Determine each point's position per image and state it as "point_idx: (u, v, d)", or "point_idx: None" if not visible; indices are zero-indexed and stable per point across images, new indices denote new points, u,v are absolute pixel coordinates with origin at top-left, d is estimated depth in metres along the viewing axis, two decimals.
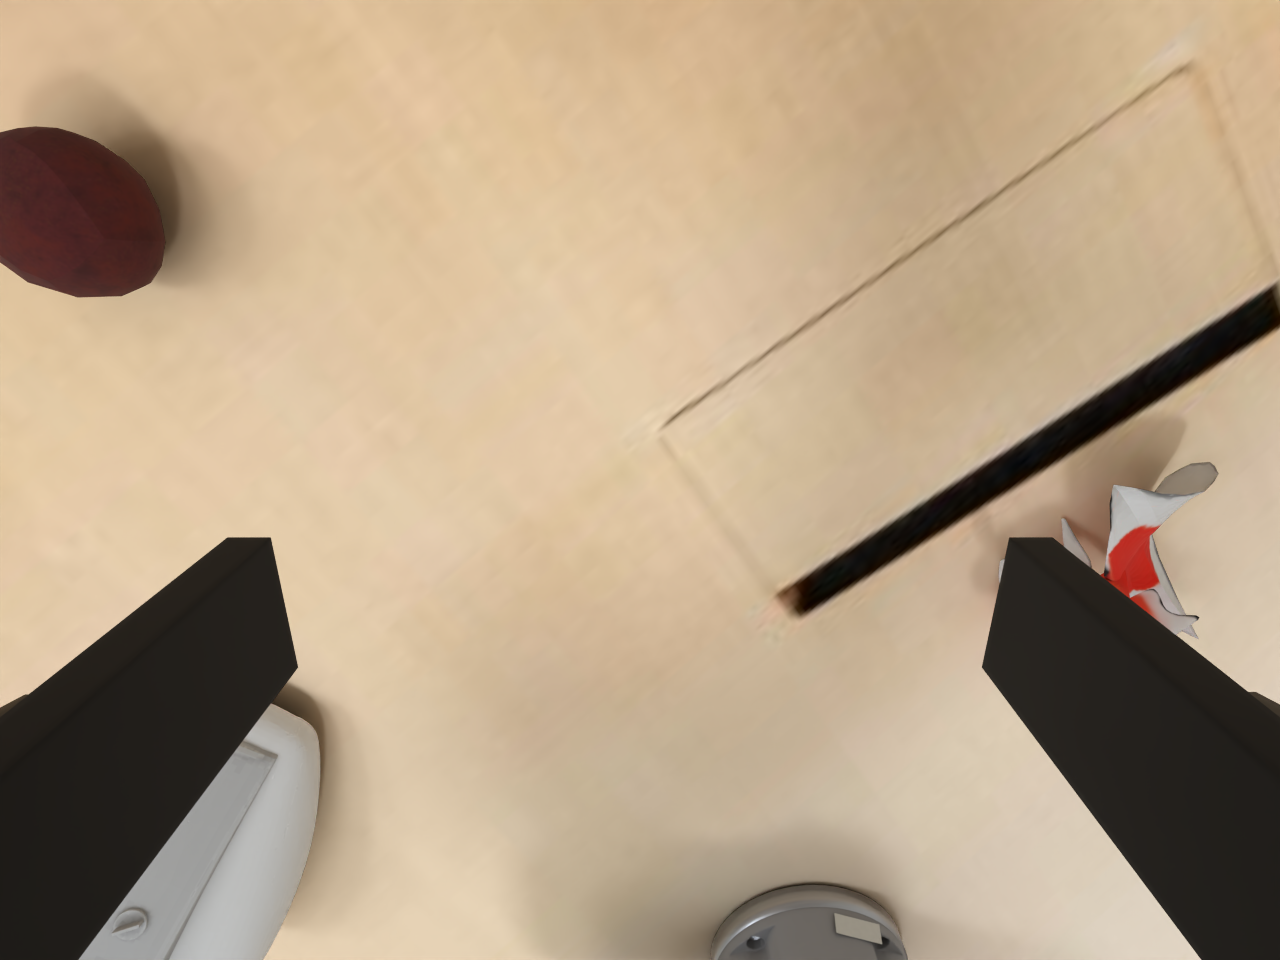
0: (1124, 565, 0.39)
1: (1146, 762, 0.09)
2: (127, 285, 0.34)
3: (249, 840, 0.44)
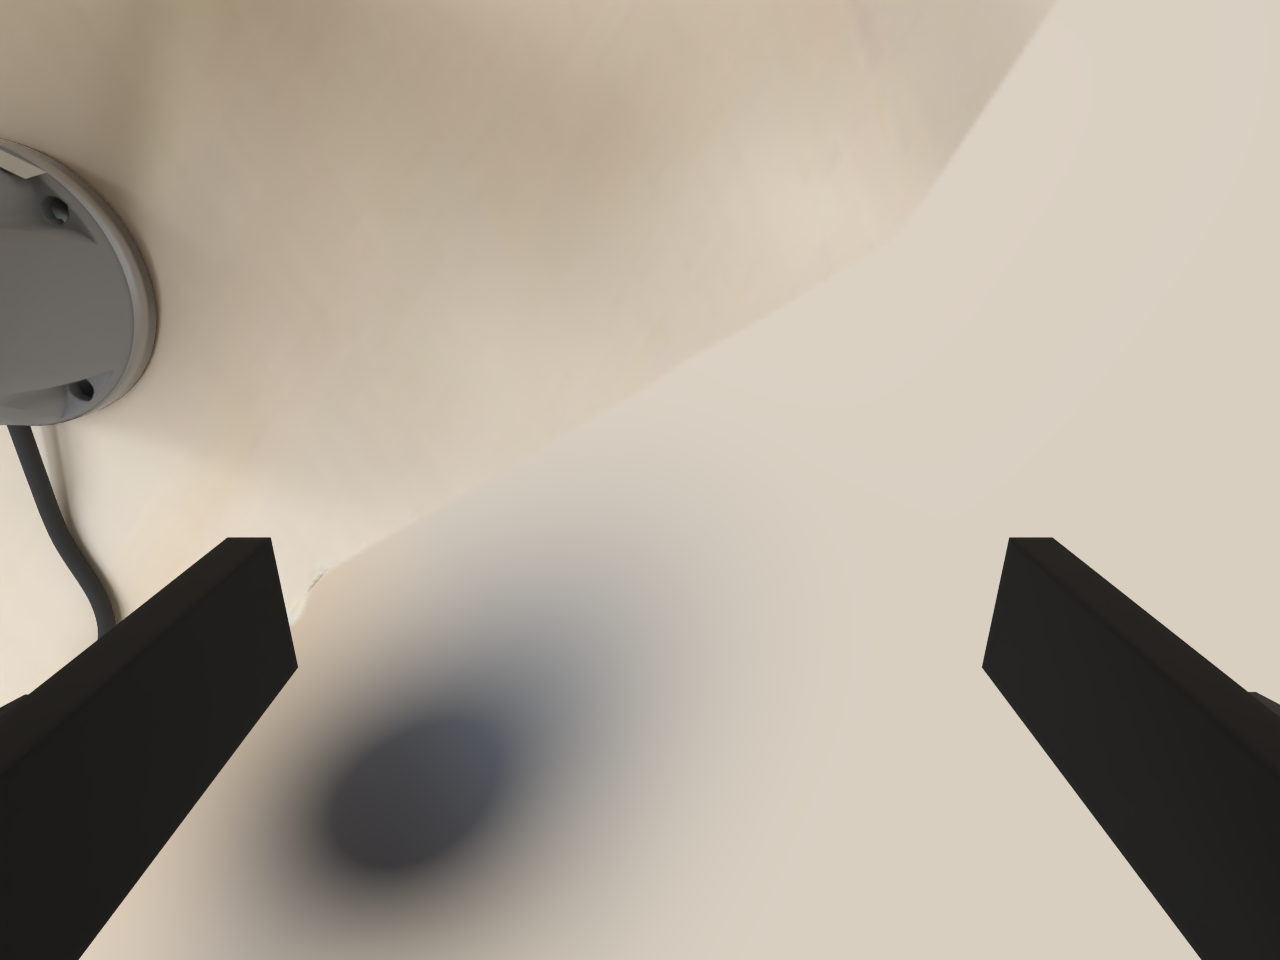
0: None
1: (1147, 764, 0.09)
2: None
3: None
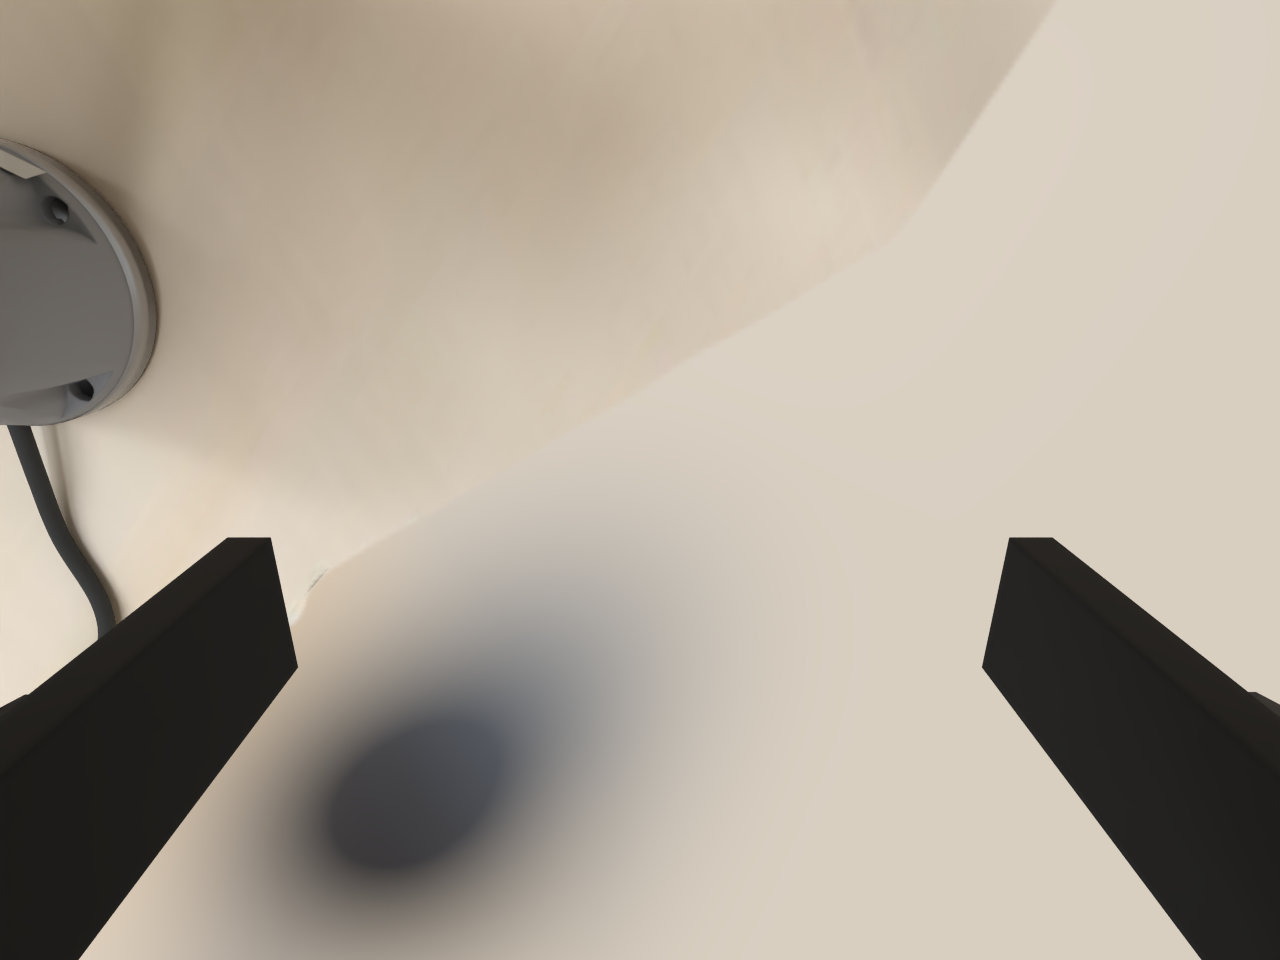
0: None
1: (1147, 764, 0.09)
2: None
3: None
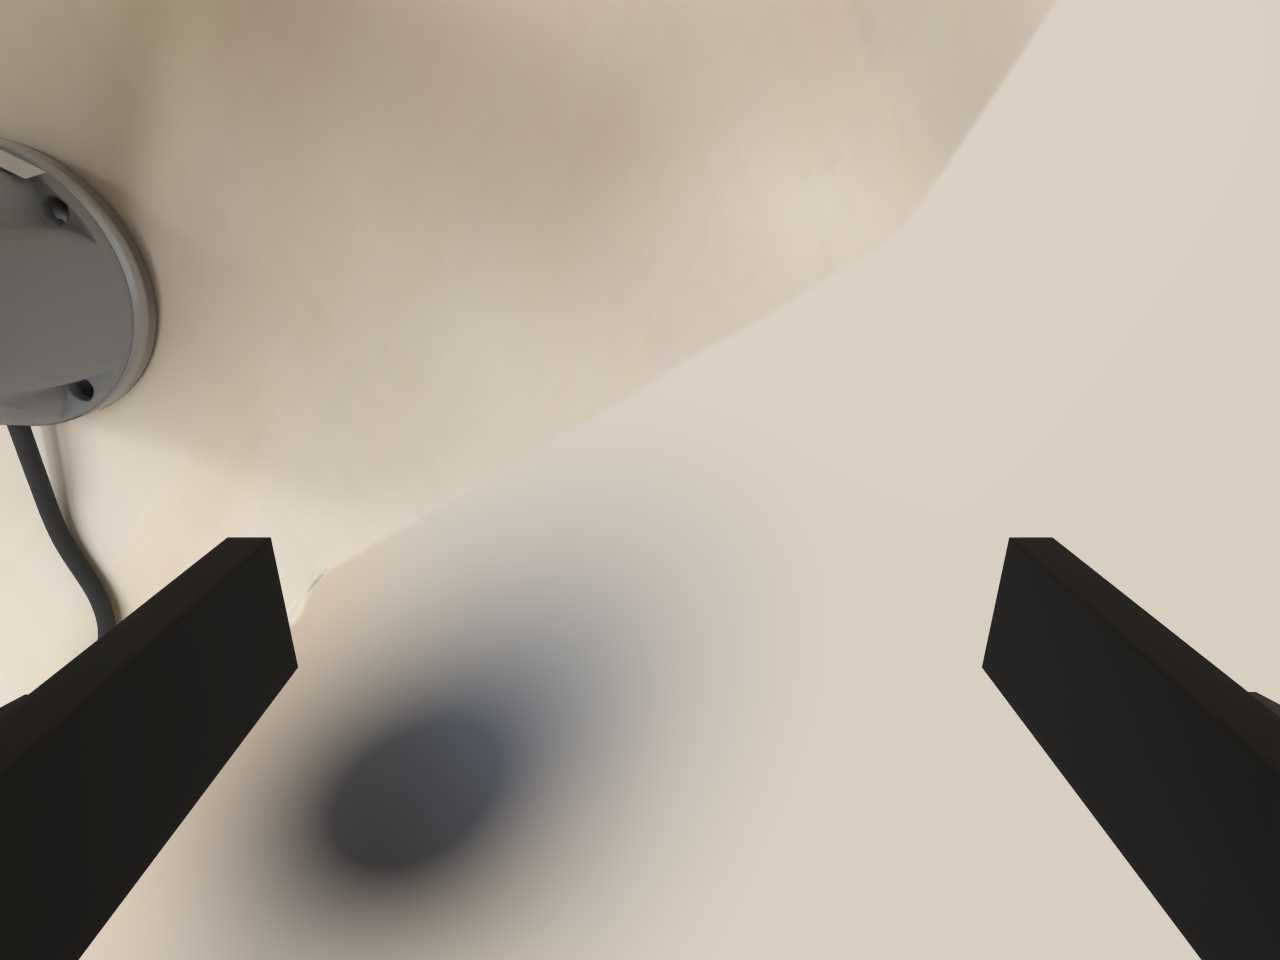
0: None
1: (1147, 764, 0.09)
2: None
3: None
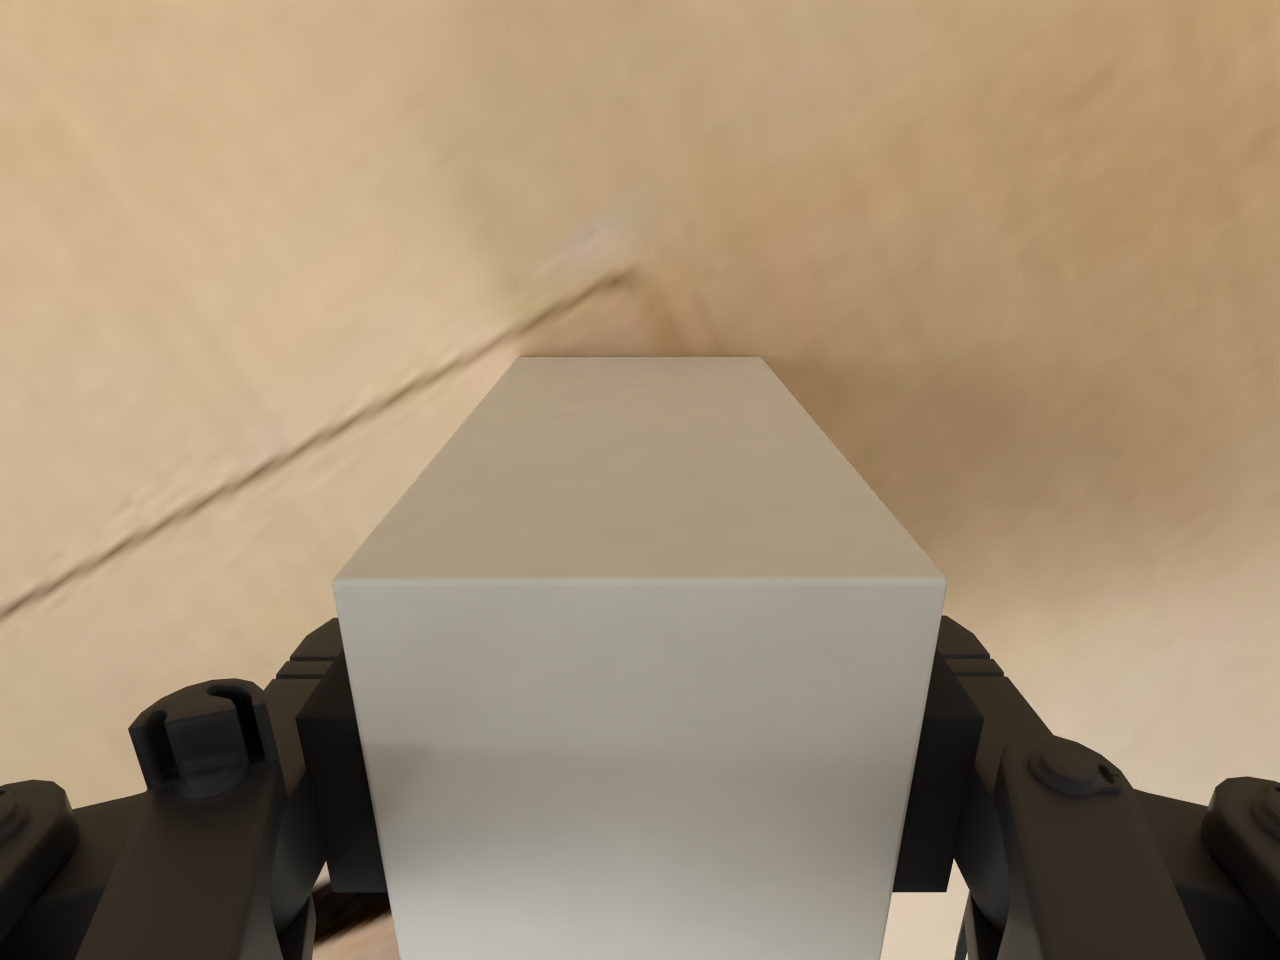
0: None
1: None
2: None
3: None
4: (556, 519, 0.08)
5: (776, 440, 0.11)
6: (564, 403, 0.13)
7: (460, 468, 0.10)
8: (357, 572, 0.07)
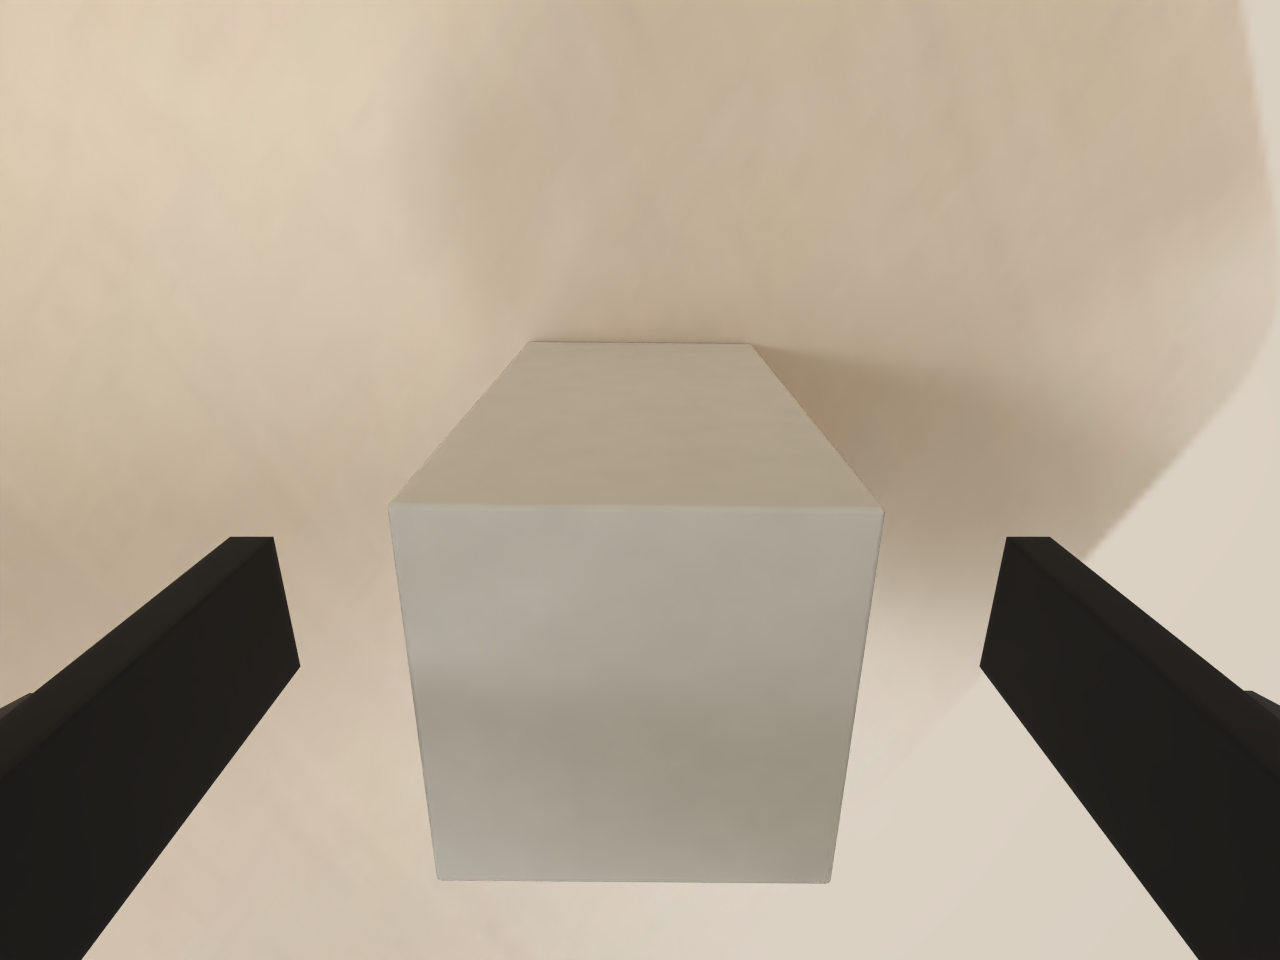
0: None
1: (1142, 761, 0.09)
2: None
3: None
4: (568, 465, 0.10)
5: (757, 410, 0.13)
6: (572, 380, 0.15)
7: (484, 428, 0.12)
8: (407, 500, 0.09)
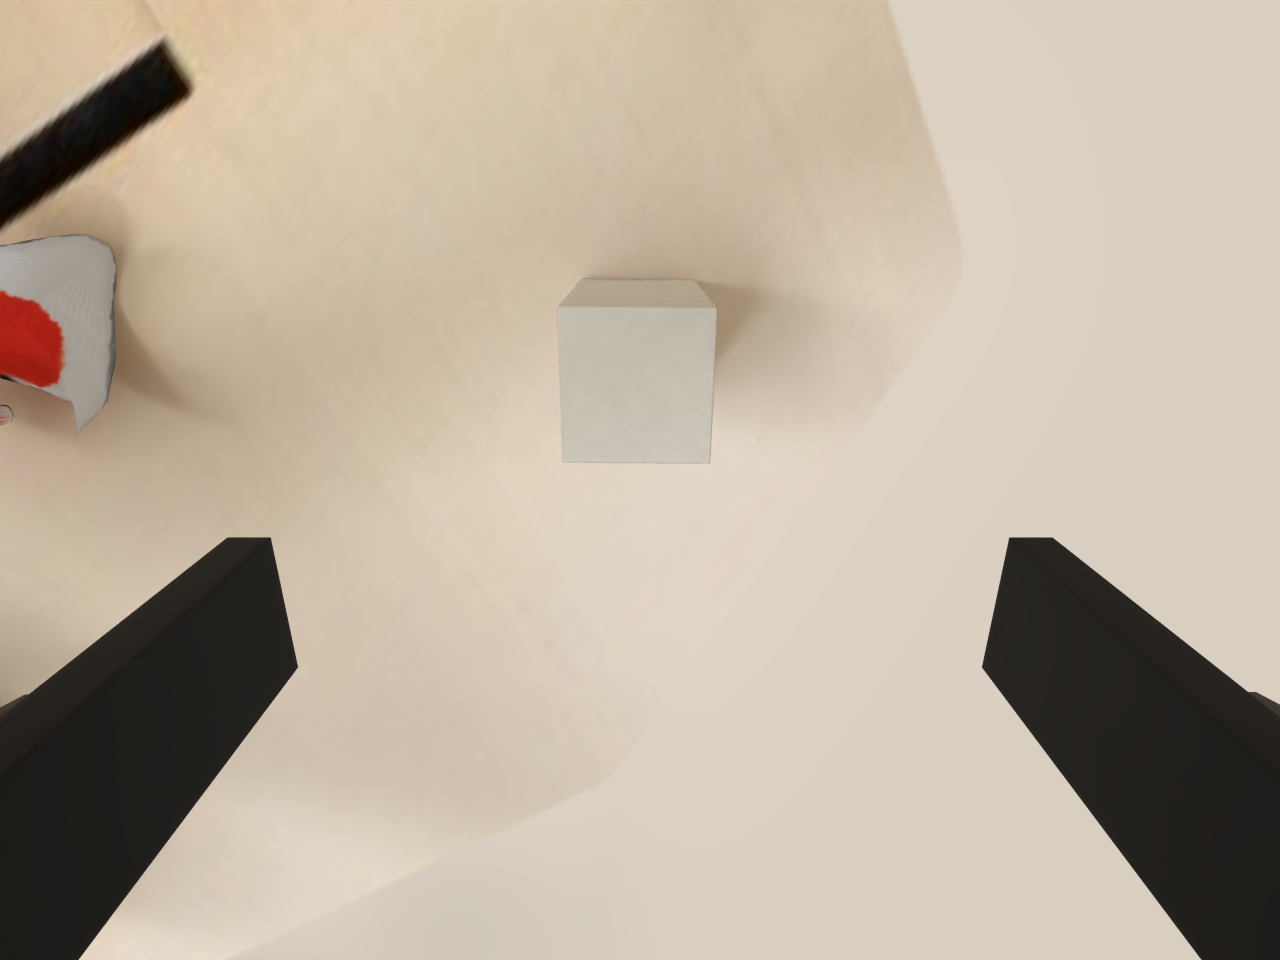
0: None
1: (1146, 762, 0.09)
2: None
3: None
4: (613, 301, 0.28)
5: (686, 294, 0.31)
6: (608, 288, 0.33)
7: (578, 296, 0.30)
8: (563, 305, 0.27)
